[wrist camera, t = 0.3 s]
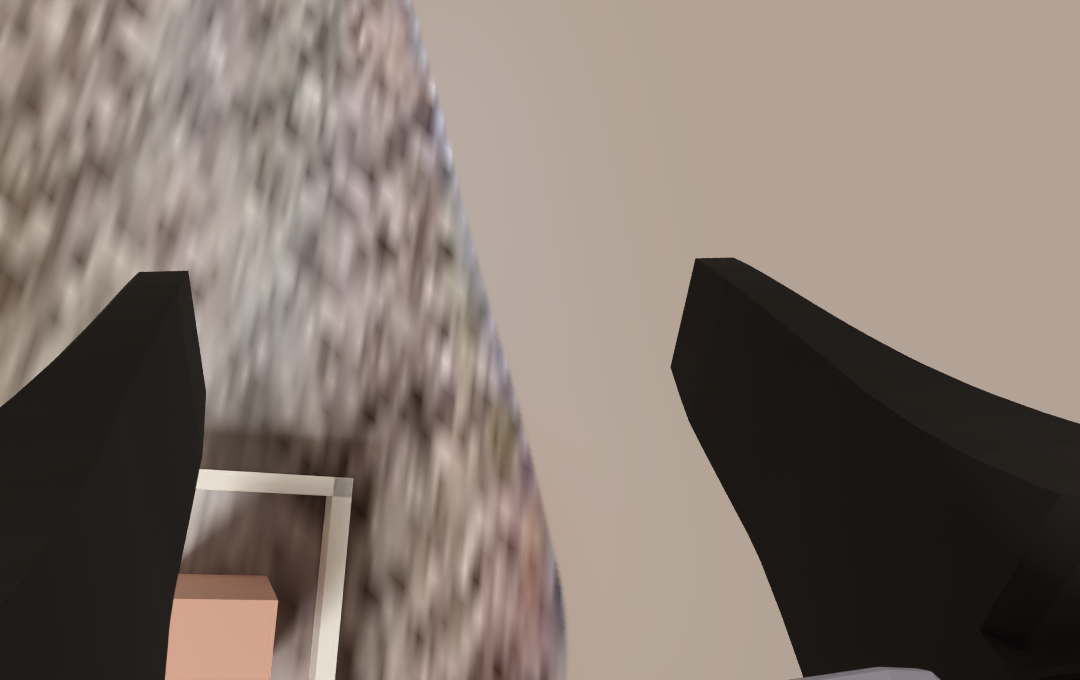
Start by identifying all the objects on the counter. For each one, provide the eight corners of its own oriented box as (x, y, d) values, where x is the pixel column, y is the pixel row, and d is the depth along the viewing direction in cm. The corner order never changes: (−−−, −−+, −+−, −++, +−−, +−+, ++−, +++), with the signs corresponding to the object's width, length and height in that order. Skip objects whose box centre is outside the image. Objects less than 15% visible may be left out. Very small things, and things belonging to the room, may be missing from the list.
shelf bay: (318, 778, 38) (324, 797, 36) (24, 792, 35) (11, 813, 33) (346, 478, 41) (353, 478, 38) (72, 461, 37) (63, 460, 35)
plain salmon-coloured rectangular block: (256, 671, 38) (265, 720, 31) (155, 672, 37) (139, 723, 30) (266, 575, 39) (278, 600, 31) (168, 573, 38) (155, 598, 30)
